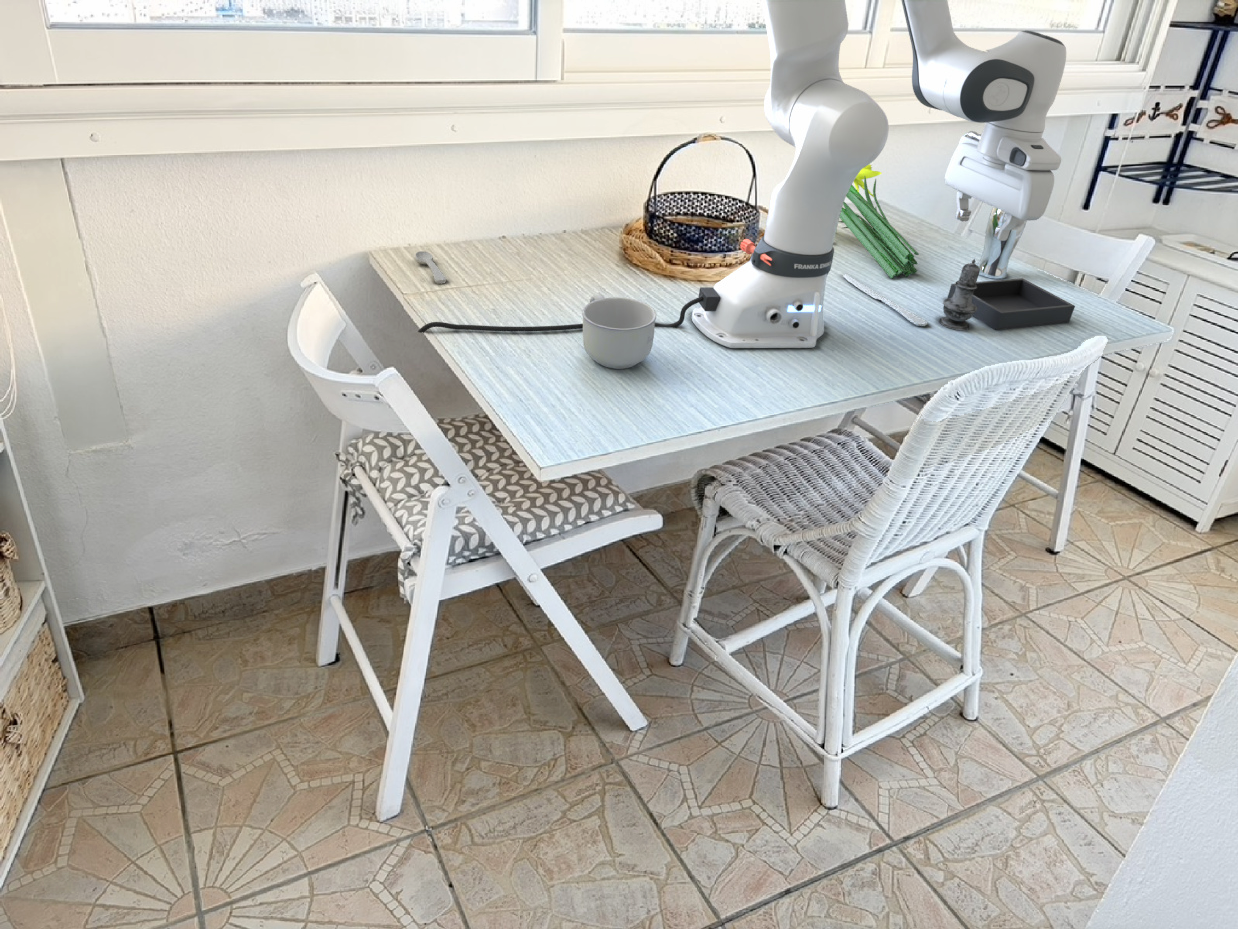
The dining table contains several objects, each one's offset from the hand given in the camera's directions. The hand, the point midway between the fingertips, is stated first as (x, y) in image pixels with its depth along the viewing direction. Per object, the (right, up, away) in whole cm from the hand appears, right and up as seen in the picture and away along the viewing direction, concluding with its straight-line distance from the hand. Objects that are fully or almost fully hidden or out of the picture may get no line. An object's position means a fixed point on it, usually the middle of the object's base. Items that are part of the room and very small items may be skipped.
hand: (980, 229), depth 153 cm
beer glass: (+15, -1, +34) cm, 37 cm away
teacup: (-61, -23, -14) cm, 67 cm away
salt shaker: (-1, -15, +9) cm, 17 cm away
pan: (+12, -11, +17) cm, 23 cm away
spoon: (-93, -5, +8) cm, 94 cm away
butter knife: (-12, -9, +16) cm, 22 cm away
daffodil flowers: (-9, +5, +39) cm, 40 cm away
